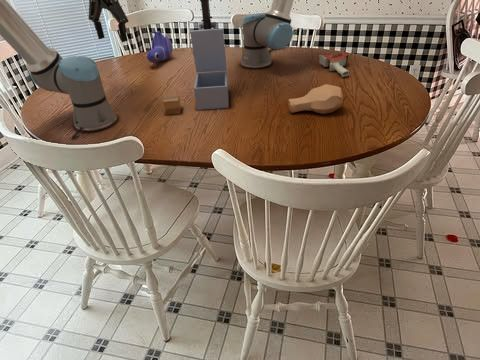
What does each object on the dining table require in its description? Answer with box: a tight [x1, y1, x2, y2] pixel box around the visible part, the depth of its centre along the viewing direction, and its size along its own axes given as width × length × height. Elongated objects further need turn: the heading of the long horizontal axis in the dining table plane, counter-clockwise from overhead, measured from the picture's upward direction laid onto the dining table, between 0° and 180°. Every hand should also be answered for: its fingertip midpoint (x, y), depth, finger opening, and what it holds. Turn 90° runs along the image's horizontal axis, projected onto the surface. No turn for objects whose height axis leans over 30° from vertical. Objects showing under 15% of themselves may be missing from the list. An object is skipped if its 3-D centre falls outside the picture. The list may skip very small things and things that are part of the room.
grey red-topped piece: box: [318, 51, 350, 78], centre depth 164 cm, size 18×5×20 cm
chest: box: [193, 71, 230, 111], centre depth 142 cm, size 17×12×9 cm
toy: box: [145, 30, 174, 68], centre depth 184 cm, size 10×17×25 cm
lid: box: [189, 21, 228, 73], centre depth 142 cm, size 18×12×9 cm
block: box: [162, 94, 182, 116], centre depth 136 cm, size 6×6×6 cm
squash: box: [287, 83, 344, 115], centre depth 129 cm, size 11×20×9 cm, turn 92°
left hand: (113, 40), depth 148 cm, fingers open, 13 cm apart
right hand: (208, 37), depth 141 cm, fingers closed on lid, 2 cm apart
